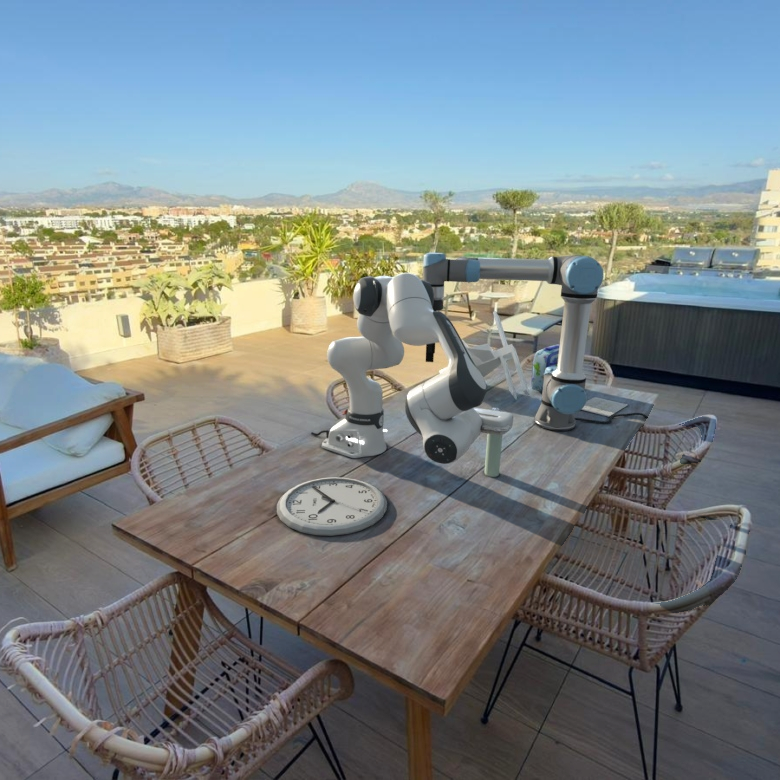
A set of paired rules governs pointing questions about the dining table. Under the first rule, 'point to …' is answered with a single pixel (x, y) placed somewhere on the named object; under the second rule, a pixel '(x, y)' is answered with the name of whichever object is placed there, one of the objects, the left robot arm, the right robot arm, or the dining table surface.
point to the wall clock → (331, 506)
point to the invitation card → (603, 406)
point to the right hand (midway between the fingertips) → (430, 357)
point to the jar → (493, 455)
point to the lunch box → (543, 365)
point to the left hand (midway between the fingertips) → (478, 408)
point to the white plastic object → (497, 359)
